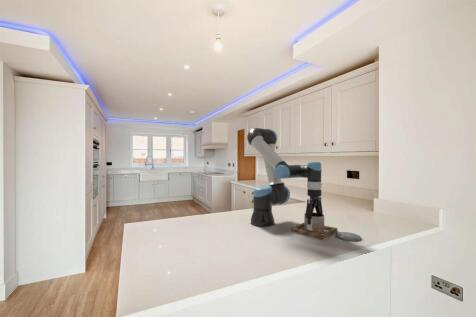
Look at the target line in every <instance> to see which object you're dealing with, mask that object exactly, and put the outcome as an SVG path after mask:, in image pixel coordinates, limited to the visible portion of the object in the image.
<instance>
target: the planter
mask: <svg viewBox="0 0 476 317" xmlns="http://www.w3.org/2000/svg"><path fill="white" fill-rule="evenodd" d="M305 214H306V212H305V213H304V215H303V216H304V220H303V221H304V222H303V223H304V228H303V230H305V231H309V232H314V233H318V234H324V233H325V230H324V225H325V215H324V213H323V214H320V213H316V212H314V211H313V215H312V219H313V231H310V230H307V218H305Z"/></svg>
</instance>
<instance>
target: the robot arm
mask: <svg viewBox="0 0 476 317" xmlns="http://www.w3.org/2000/svg"><path fill="white" fill-rule="evenodd" d="M246 136H247V137H246V140H247V142H248V144H249V145H250V146H251V147H252V148H253V149H255V150H256V151H258V153H259V154H260V155H261V156H262V157H263V162H264V166H265V170H266V171H265V172H266V175H267V179H268V180H267V181H268V184H267V185H259V186H255V187H254V188H253V194H252V195H253V211H252V215H251V218H250V224H251V225H253V226H257V227H271V226H274V225H275V217H274V214H273V211H272V210H273V209H272V208H273V206H277V205H284V204H286V203H287V202H288V201H289V200H290V197H291V191H290V189H289V188H288V187H287V186H286V185H285V182H283V181H282V180H283V179H285V180H286V179H297V178H302V179H303V178H304V179H306V180H307V185H306V186H307V192H306V193H307V194H306V195H307V196H308V197H309V198H308V199H306V207H305V213H306V214H305V213H304V214H305V218H307V230H310V231H313V219H312V215H313V212H314V210H315V213H320V214H323V215H324V211H323V204H322V203H323V202H322V186H323V184H322V171H323V169H322V162H320V161H308V162H307V164H306V165H305V164H288V163H287V162H286V161H285V160H284V159H283V158H282V157H281V156H280V155H279V154H278V153H277V152H276V151H275V147H276V145H277V141H278V135H277V133H276V131H274V130H273V129H270V128H260V127H254V128H251V129H250V130H249V131H248V133H247V135H246Z"/></svg>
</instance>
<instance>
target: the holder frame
mask: <svg viewBox="0 0 476 317" xmlns="http://www.w3.org/2000/svg"><path fill="white" fill-rule="evenodd" d="M325 231H326V232H325ZM290 233H296V234H299V235H303V236H307V237H311V238H315V239H320V240H323V241H325V240H326V239H328V238H330V237H331V236H332V235H334V234H336V233H338V227H335V226H330V225H325V224H324V233H322V234H318V233H314V232H309V231H305V230H304V222H302V223H300V224H298V225H295V226H293V227H291V228H290Z"/></svg>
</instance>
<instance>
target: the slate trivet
mask: <svg viewBox="0 0 476 317" xmlns="http://www.w3.org/2000/svg"><path fill="white" fill-rule="evenodd" d="M335 237H336V238H337V239H339V240H342V241H346V242H360V241H361V240H362V237H361V236H360V235H359V234H356V233H352V232H349V231H348V232H347V231H337V232H335Z"/></svg>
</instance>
